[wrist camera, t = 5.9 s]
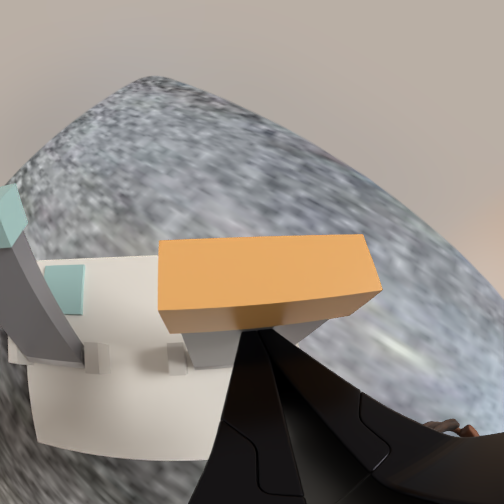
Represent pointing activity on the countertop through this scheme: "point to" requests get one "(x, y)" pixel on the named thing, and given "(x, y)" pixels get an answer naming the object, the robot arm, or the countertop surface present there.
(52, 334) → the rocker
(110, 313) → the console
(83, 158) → the countertop surface
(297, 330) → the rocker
